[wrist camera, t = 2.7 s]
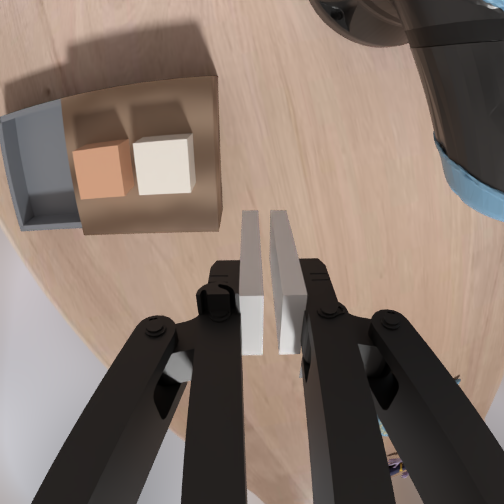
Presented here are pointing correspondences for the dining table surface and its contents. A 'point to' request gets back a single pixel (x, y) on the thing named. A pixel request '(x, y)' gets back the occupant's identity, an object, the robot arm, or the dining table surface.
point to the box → (39, 168)
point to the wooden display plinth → (145, 125)
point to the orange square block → (104, 169)
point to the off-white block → (165, 164)
